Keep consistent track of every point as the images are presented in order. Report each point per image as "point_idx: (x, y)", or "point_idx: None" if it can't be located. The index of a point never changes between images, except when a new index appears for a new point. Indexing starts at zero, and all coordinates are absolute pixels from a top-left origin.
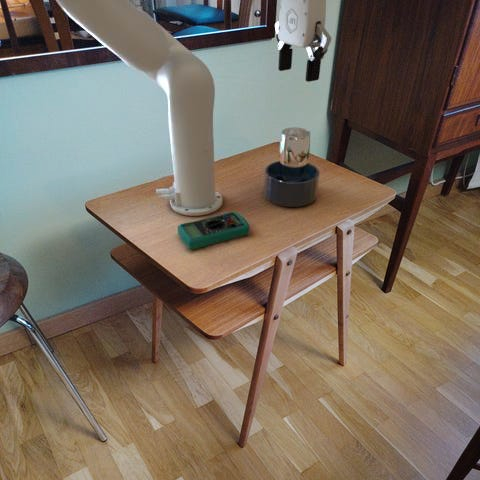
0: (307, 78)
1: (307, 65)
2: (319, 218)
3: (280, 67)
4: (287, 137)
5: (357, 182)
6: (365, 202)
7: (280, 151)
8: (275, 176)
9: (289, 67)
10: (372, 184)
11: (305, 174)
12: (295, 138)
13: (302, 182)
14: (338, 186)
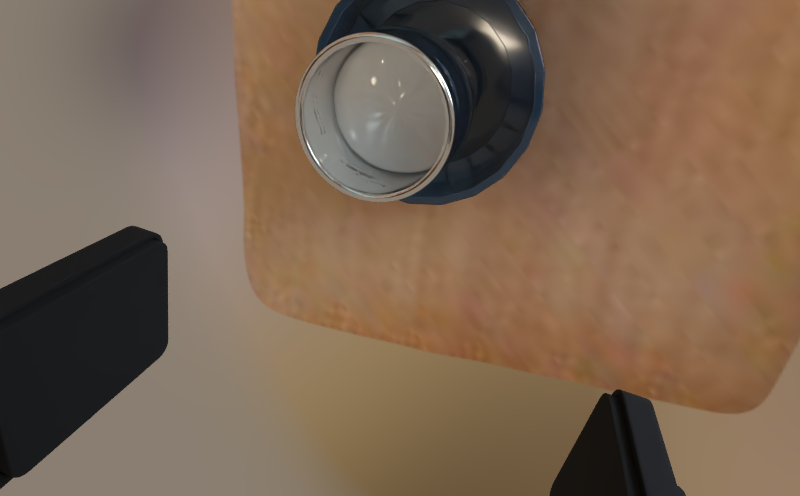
0: (118, 237)
1: (12, 295)
2: (276, 27)
3: (618, 413)
4: (363, 33)
5: (350, 304)
6: (260, 213)
7: (433, 35)
8: (516, 86)
9: (557, 488)
10: (316, 317)
11: (435, 182)
12: (320, 52)
13: (325, 37)
14: (372, 249)
